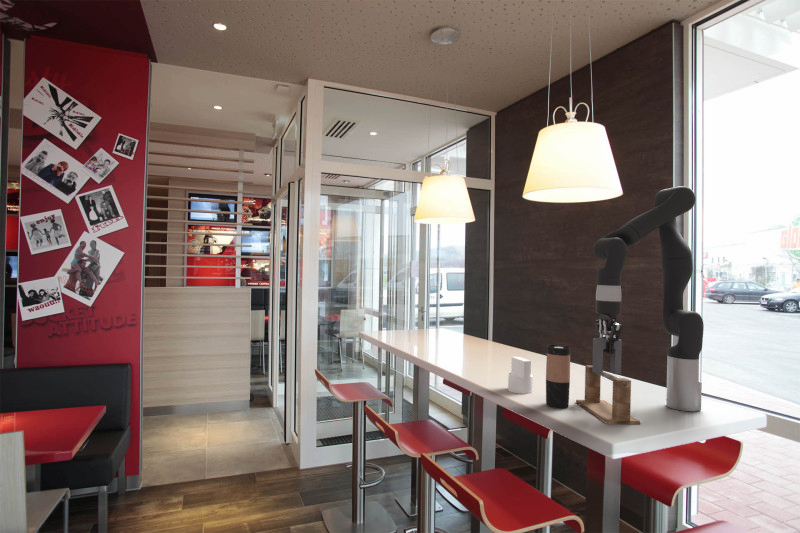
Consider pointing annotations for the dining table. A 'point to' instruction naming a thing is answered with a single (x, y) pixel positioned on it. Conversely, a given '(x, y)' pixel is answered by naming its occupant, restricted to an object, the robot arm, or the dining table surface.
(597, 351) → the grey arch block
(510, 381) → the cylinder with rectangular tab
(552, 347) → the travel mug
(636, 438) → the dining table surface
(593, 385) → the rail
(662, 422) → the dining table surface
